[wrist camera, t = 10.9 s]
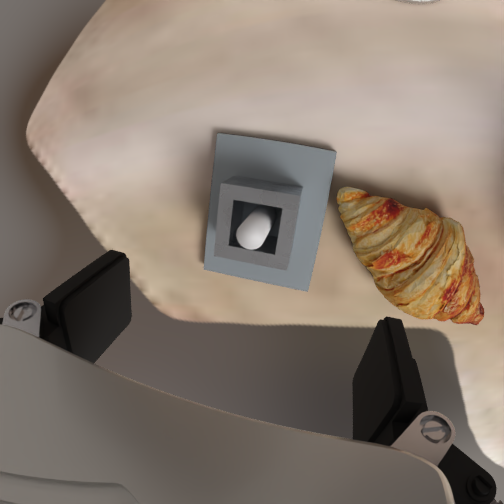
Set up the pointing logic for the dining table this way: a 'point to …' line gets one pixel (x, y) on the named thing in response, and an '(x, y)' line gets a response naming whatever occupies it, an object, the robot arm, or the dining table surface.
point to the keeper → (268, 217)
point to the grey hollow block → (231, 212)
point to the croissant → (413, 257)
